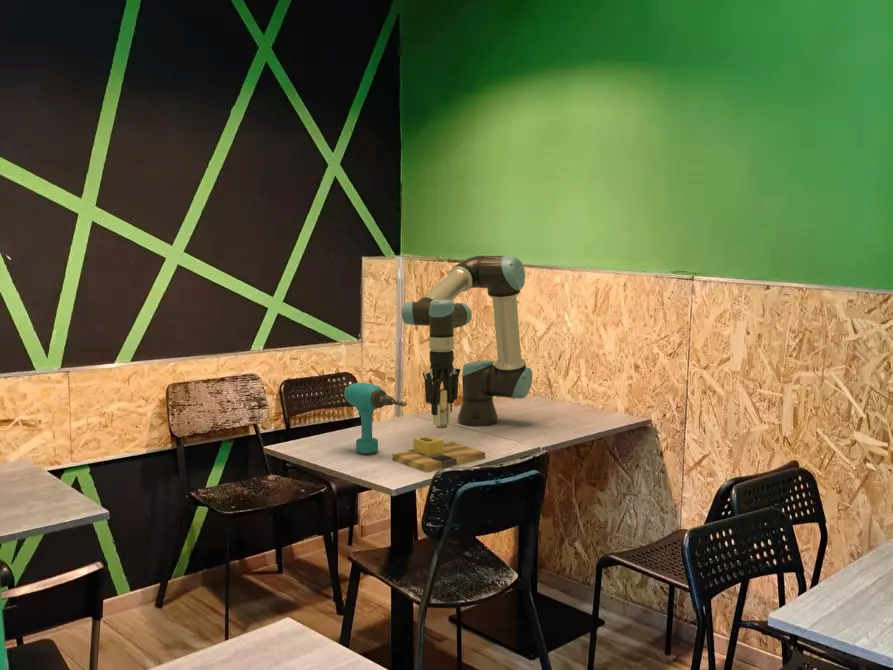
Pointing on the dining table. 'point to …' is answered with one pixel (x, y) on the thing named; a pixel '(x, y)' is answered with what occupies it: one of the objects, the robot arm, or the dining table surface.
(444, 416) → the brass cylinder rod
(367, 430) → the power drill
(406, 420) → the dining table surface
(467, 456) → the subfloor panel
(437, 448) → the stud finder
